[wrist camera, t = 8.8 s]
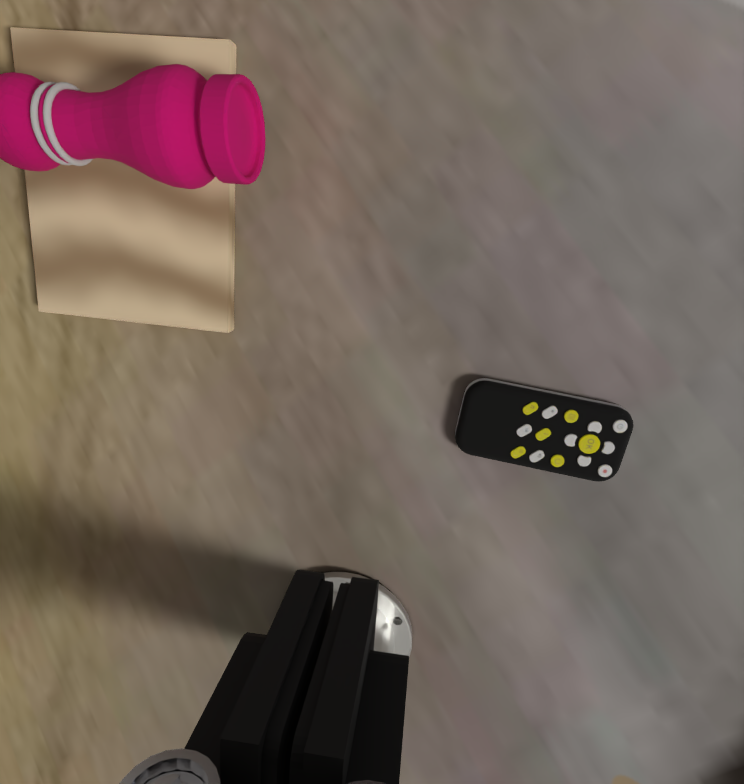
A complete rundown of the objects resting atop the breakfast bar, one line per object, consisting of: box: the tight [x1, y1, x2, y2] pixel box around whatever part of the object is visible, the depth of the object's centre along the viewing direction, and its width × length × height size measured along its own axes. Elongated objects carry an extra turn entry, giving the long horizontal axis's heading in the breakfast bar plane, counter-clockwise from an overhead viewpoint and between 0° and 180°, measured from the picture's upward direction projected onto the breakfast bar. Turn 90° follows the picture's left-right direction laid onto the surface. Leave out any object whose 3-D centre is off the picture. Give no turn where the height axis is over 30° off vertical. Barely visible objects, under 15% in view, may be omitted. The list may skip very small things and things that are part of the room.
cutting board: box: [10, 27, 236, 333], centre depth 41 cm, size 20×16×1 cm
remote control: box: [455, 378, 633, 481], centre depth 42 cm, size 6×13×2 cm, turn 80°
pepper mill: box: [0, 64, 265, 189], centre depth 36 cm, size 7×7×20 cm
